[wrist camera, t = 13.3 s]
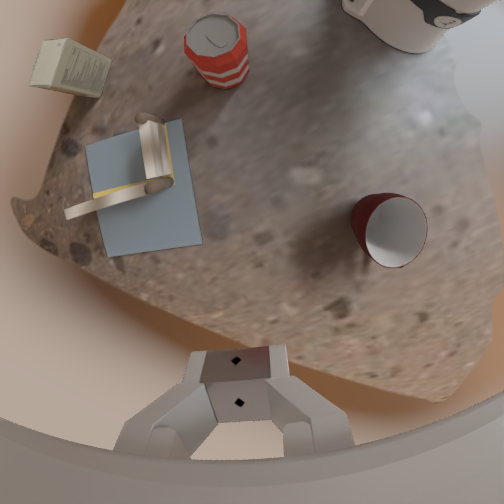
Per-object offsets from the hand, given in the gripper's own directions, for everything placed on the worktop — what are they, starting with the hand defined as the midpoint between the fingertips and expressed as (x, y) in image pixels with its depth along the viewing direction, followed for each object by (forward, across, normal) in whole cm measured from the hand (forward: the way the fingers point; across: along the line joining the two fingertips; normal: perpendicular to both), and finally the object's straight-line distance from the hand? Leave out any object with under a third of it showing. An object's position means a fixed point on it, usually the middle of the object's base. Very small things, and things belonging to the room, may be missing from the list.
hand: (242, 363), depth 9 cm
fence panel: (+30, +17, -4) cm, 35 cm away
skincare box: (+31, +20, -23) cm, 44 cm away
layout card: (+31, +15, -4) cm, 35 cm away
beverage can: (+31, +1, -19) cm, 36 cm away
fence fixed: (+31, +10, -9) cm, 33 cm away
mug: (+31, -16, +4) cm, 35 cm away
